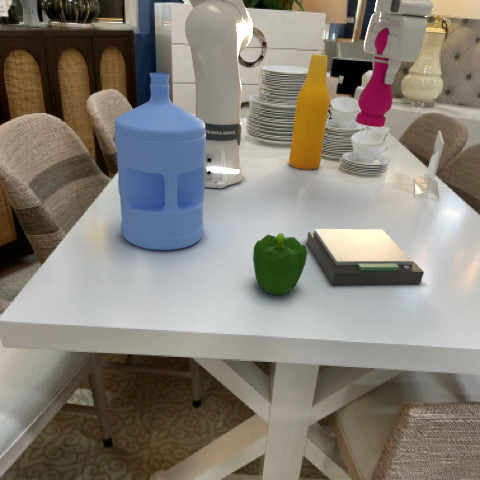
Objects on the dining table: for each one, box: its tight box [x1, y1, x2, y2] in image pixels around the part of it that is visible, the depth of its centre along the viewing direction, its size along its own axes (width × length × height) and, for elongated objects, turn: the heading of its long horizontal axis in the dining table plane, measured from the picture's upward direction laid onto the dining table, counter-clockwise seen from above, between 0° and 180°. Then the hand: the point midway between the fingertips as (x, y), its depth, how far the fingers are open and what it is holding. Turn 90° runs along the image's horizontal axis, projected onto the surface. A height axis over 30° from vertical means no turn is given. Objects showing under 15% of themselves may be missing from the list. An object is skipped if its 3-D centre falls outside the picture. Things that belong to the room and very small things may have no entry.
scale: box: [306, 228, 425, 286], centre depth 87 cm, size 16×17×3 cm
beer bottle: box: [288, 53, 331, 171], centre depth 133 cm, size 9×9×29 cm
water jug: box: [114, 72, 206, 251], centre depth 84 cm, size 16×16×28 cm
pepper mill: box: [355, 28, 393, 128], centre depth 100 cm, size 7×7×20 cm
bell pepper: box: [252, 232, 308, 296], centre depth 75 cm, size 8×8×10 cm
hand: (381, 81), depth 100 cm, fingers closed on pepper mill, 5 cm apart
